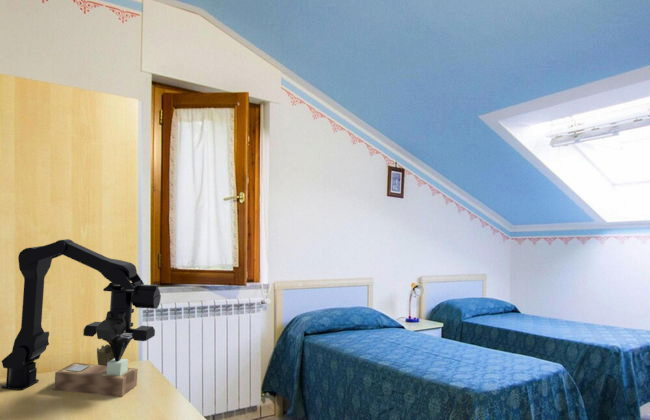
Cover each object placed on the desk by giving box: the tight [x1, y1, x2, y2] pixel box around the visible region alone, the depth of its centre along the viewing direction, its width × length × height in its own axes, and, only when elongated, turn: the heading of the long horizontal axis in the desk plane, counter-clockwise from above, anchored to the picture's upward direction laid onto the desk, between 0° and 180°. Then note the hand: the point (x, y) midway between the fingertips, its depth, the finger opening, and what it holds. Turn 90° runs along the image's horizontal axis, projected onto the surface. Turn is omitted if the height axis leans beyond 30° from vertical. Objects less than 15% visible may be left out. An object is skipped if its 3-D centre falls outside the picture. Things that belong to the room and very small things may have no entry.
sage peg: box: [107, 358, 129, 376], centre depth 126 cm, size 4×4×5 cm
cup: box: [96, 343, 114, 366], centre depth 138 cm, size 8×7×8 cm
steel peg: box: [67, 365, 89, 372], centre depth 127 cm, size 4×4×5 cm
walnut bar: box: [53, 362, 139, 398], centre depth 126 cm, size 20×8×5 cm, turn 85°
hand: (117, 360), depth 126 cm, fingers closed, pressing on sage peg
